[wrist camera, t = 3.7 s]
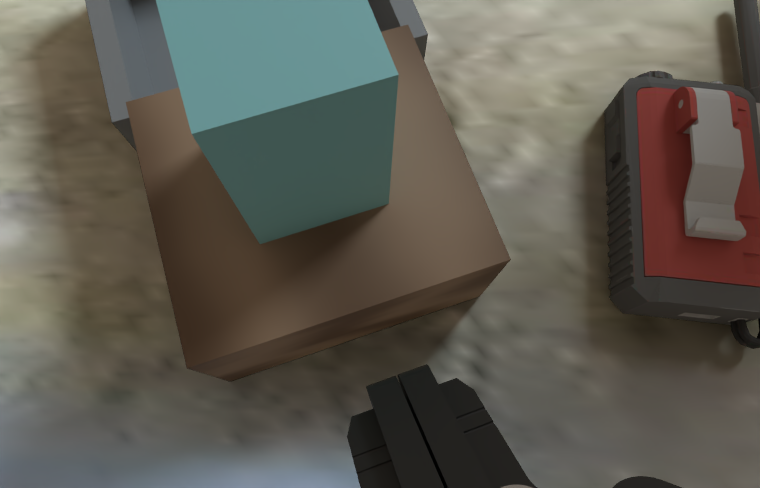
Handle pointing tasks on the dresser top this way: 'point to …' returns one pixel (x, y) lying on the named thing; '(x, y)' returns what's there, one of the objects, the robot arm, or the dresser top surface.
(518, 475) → the robot arm
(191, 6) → the block
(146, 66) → the box
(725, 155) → the walkie-talkie
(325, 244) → the brown box
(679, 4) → the dresser top surface
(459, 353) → the dresser top surface
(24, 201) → the dresser top surface
